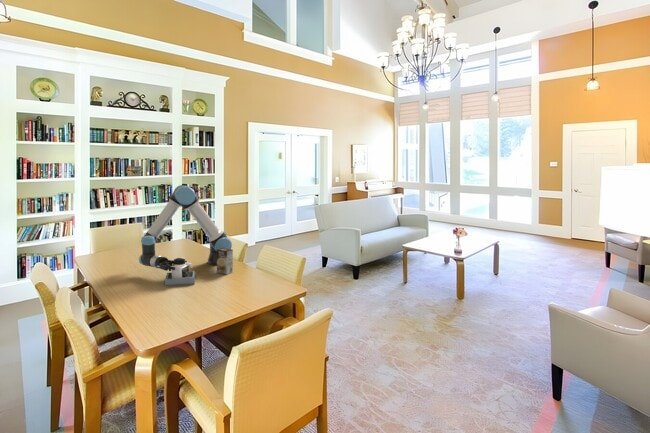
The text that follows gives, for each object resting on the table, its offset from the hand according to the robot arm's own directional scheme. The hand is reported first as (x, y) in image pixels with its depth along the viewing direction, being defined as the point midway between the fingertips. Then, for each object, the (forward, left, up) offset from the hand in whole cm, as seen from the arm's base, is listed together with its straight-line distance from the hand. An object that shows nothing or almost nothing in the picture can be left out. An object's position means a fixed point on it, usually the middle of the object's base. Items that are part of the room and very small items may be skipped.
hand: (185, 267), depth 217 cm
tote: (+3, -3, -10) cm, 11 cm away
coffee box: (-24, -16, -10) cm, 31 cm away
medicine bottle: (+3, -3, -7) cm, 9 cm away
